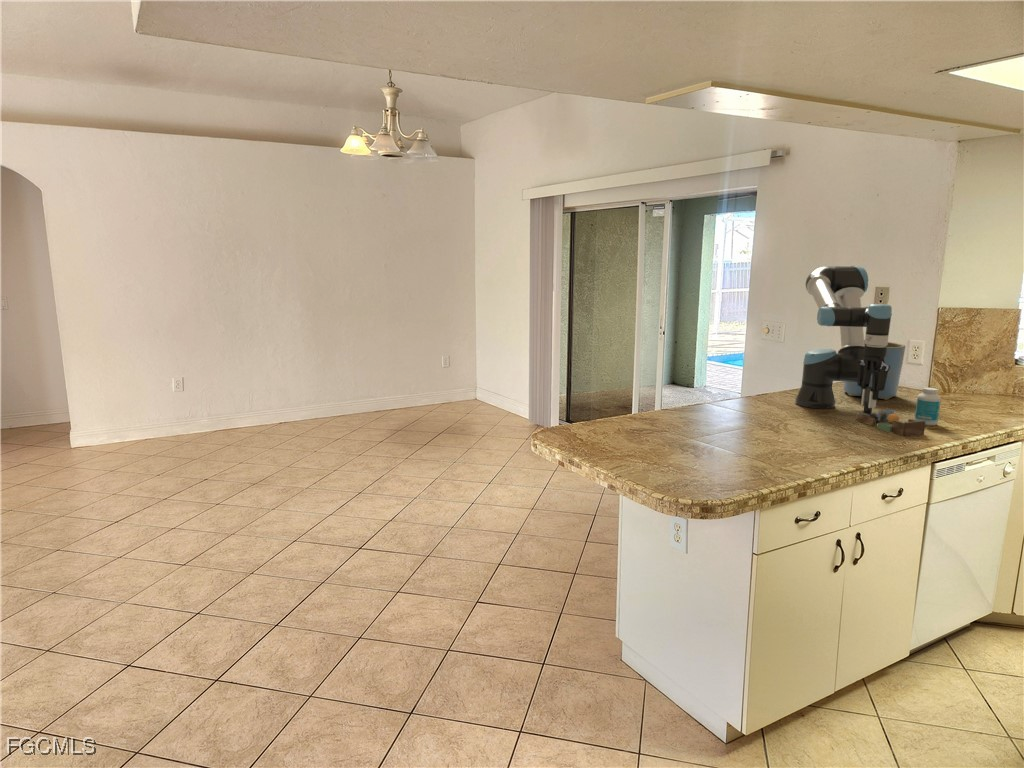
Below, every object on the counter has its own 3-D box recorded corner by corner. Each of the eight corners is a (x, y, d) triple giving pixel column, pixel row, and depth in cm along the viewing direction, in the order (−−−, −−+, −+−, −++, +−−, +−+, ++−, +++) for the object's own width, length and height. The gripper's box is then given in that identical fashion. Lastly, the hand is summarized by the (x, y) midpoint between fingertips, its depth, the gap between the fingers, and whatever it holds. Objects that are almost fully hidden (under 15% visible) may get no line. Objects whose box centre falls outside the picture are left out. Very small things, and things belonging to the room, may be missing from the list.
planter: (897, 403, 267) (904, 349, 262) (838, 396, 279) (844, 344, 274) (899, 393, 286) (906, 342, 281) (843, 387, 298) (849, 338, 293)
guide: (855, 419, 240) (856, 413, 240) (870, 418, 242) (871, 412, 242) (872, 425, 233) (873, 419, 232) (887, 424, 235) (888, 417, 234)
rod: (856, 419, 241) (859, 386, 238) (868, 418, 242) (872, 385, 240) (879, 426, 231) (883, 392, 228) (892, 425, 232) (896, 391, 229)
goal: (891, 432, 224) (892, 418, 223) (909, 430, 226) (911, 417, 225) (905, 436, 219) (906, 422, 218) (923, 434, 221) (925, 421, 220)
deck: (876, 428, 229) (877, 423, 229) (898, 426, 232) (899, 421, 231) (889, 432, 224) (889, 426, 224) (911, 430, 227) (912, 425, 226)
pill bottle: (940, 426, 231) (946, 391, 228) (918, 425, 233) (923, 390, 230) (931, 421, 238) (936, 387, 236) (910, 420, 240) (915, 386, 237)
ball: (884, 422, 230) (885, 412, 229) (892, 421, 230) (893, 412, 230) (892, 424, 226) (894, 415, 225) (900, 424, 227) (902, 414, 226)
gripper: (851, 343, 240) (844, 402, 245) (884, 349, 225) (877, 412, 230) (867, 342, 242) (860, 401, 247) (901, 348, 227) (893, 410, 232)
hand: (868, 406), depth 239 cm, fingers closed on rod, 3 cm apart
